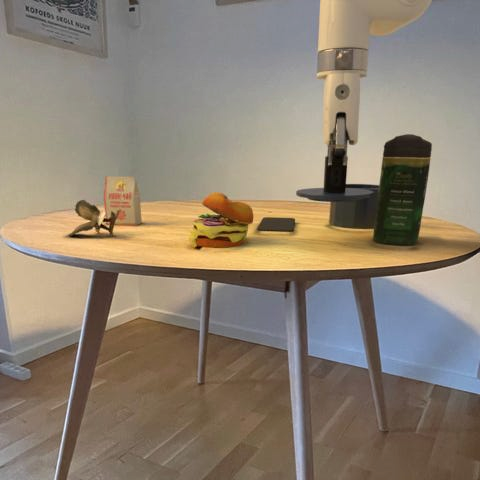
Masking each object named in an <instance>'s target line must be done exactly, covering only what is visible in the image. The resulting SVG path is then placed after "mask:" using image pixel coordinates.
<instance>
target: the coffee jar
mask: <svg viewBox="0 0 480 480" xmlns="http://www.w3.org/2000/svg"><path fill="white" fill-rule="evenodd" d="M432 146H433V144H432V142H430V141H428V140H426V139H424V138H422V137H421V136H419V135H417V134H412V133H406V134H401V135H395V137H394V138H391V139H390V140H387V141H386V142H385V143H384V145H383V153H382V158H381V159H382V160H381V168H380V178H379V184H378V185H379V193H378V202H377V211H376V219H375V226H374V229H373V236H372V240H373V243H375V244H379V245H380V244H381V245H385V246H395V247H396V246H398V247H399V246H400V247H412V246H413V247H414V246H416V245H417V244H418V241H419V238H420V237H419V236H420V231H421V225H422V218H423V212H424V206H425V200H426V193H427V188H428V181H429V175H430V168H431V167H430V166H431V157H432V151H433V147H432Z"/></svg>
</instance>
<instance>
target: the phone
mask: <svg viewBox="0 0 480 480" xmlns="http://www.w3.org/2000/svg"><path fill="white" fill-rule="evenodd" d="M295 225H296V218H295V217H277V216H276V217H275V216H273V217H272V216H266V217H263V218H261V220H260V222H259V224H258V225H257V227H256V231H257V232H275V233H292V232H294V228H295Z"/></svg>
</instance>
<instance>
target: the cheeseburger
mask: <svg viewBox="0 0 480 480" xmlns="http://www.w3.org/2000/svg"><path fill="white" fill-rule="evenodd" d="M201 205H202V206H204V207H205V208H207V209H208V210H210V211H211V212H213V213H215V214H210V213H206V214H201V215H198V216H197V219H193V222H192V225H193V226H192V227H191V228H190V230H189V232H190V234H189V236H188V242H189V243H190V245H191V247H192V248H196V247H197V246H198V247H207V248H232V247H238V246H240V245H242V244H243V242H244V241H245V240H246V238H247V235H248V231H249V230H248V229H249V225H252V224H253V223H254V210H253V208H252V207H251V205H250V204H248V203H246V202H241V201H233V200H231V199H230V198H228V196H227V195H225V194H224V193H222V192H217V191H215V192H211V193H210V194H208V195H207V196H206V197H205V198H204V199H203V200H202V202H201Z"/></svg>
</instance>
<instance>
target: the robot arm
mask: <svg viewBox="0 0 480 480" xmlns="http://www.w3.org/2000/svg"><path fill="white" fill-rule="evenodd" d="M319 1H320V2H319V20H318V41H317V42H318V43H317V63H316V79H319V80H323V81H324V83H323V105H322V106H323V108H322V132H323V143H324V144H325V145H326V146H327V153H326V154H327V155H326V156H329V161H328V166H327V167H326V185H325V191H326V192H345V190H346V184H347V174H348V165H347V166H346V160H347V156H348V145H349V146H355V145H357V144H358V141H359V120H360V118H359V117H360V101H361V100H360V99H361V79H362V78H367V75H368V66H369V65H368V64H369V53H370V52H369V51H370V40H371V35H372V36H376V37H385V36H389V35H391V34H393V33H395V32H396V31H398V30H399V29H401V28H403V27H406V26H407V25H410V23H413V22H414V21H416V20H417V19H419V18H420V17H422V15H423V14H424V13H426V11H427V10H428V8H429V7H430V5H431V3H432V1H433V0H319ZM332 156H333V157H332Z"/></svg>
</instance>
